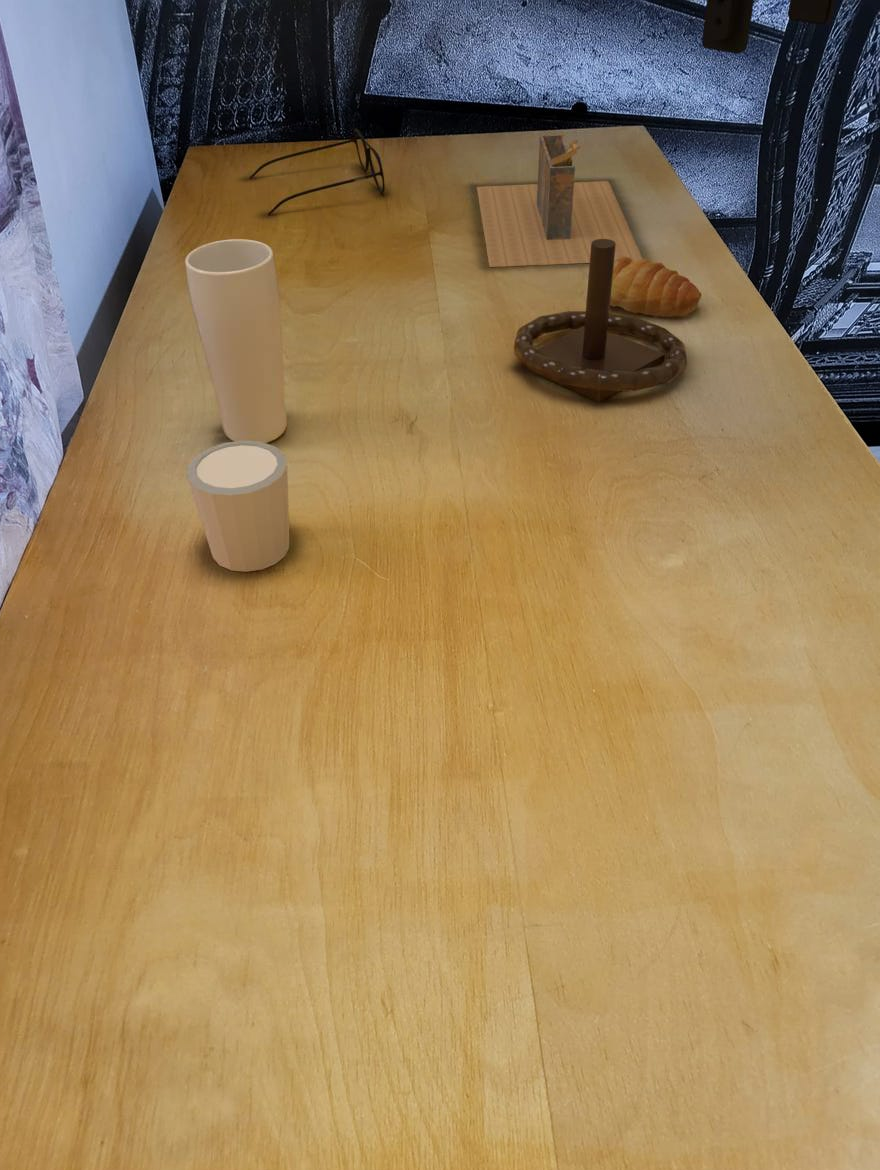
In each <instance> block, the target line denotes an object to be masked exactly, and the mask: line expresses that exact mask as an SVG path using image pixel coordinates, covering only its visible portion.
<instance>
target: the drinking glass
mask: <svg viewBox="0 0 880 1170" xmlns="http://www.w3.org/2000/svg"><path fill="white" fill-rule="evenodd" d="M184 266H185V272H186V281H187V286H188V287H187V289H188V293H189V299H190V303H191V310H192V313H193V318H194V323H195V325H196V329H197V333H198V336H199V337H198V338H199V340H200V343H201V347H202V350H203V355H204V358H205V361H206V365H207V369H208V373H209V376H210V379H211V383H212V387H213V390H214V395H215V398H216V402H217V405H218V410H219V414H220V419H221V425H222V430H223V433H224V435H225V437H227V439H229V440H230V441H231V442H235V441H243V440H244V441H257V442H263V443H266V444H269V443H270V442H273V441H274V440H276V439H278V438H279V437H281V436H282V434H284V433H285V431H286V429H287V423H288V420H287V419H288V418H287V411H286V403H285V382H284V359H283V358H284V356H283V329H282V328H283V327H282V308H281V307H282V306H281V295H280V294H281V293H280V286H279V279H278V273H277V267H276V261H275V256H274V251H273V249H272V248H271V247H270V246H269V245H268V244H266V243H264V242H261V241H259V240H258V241H257V240H254V239H246V238H245V239H243V238H231V239H223V240H217V241H212V242H209V243H206V244H203V245H199V246H198V247H196V248H194V249H193V250H192V251H190V252H189V253H188V254H186V257H185V259H184Z"/></svg>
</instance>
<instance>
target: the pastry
mask: <svg viewBox="0 0 880 1170" xmlns="http://www.w3.org/2000/svg"><path fill="white" fill-rule="evenodd" d="M701 297H702V293H701V291H699V288H697V286H696V285H695V284H694V283H692V282H691V281H690V279H689V278H688V277H686V276H684V275H680V274H679V272H678V271H677V270H673V269H669V268H667V267H666V266H665V265H664V264H663V263H662V262H660V261H659V262H651V261H650V260H649V259H647V258H642V259H640V260H638V261H633V260H632V259H630V258H629V257H622V256H621V257H620V258H618V259H616V260H615V261H614V267H613V278H612V288H611V298H610V306H611V307H612V308H616V307H620V308H622V309H623V310H624V311H627V312H630V313H634V314H637V313H640V314H643V315H644V316H646V317H647V316H653V317H658V318H659V317H660V318H666V317H667V318H669V317H670V318H671V317H674V316H679V317H681V316H682V317H684V316H686V315H688V314H690V313H692V312H694V310H695V309H697V307H698V305H699V302H700V300H701Z"/></svg>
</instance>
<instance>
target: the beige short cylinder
mask: <svg viewBox="0 0 880 1170" xmlns="http://www.w3.org/2000/svg"><path fill="white" fill-rule="evenodd" d="M186 474H187V481H188V485H189V487H190V490H191V494H192V498H193V499H194V503H195V506H196V509H197V512H198V515H199V518H200V519H199V520H200V522H201V525H202V529H203V532H204V534H205V537H206V541H207V543H208V544H207V545H208V546H209V550H210V552H211V557H212V558H213V560H214V561H215V562H216V563H217V564H218V566H220V567H223V568H225V569H227V570H230V571H232V572H233V571H234V572H244V573H248V572H249V573H250V572H255V571H261V570H264V569H266V568H269V567H271V566H274V565H276V564H278V563H279V562H280V561H281V560H282V559H283V558H284V557H286V555H287V553H288V551H289V549H290V519H289V515H290V514H289V480H288V479H289V478H288V477H289V476H288V463H287V458H286V454H285V453H283V452H282V451H281V450H280V449H279V447H277V446H274V445H271V444H269V443H263V442H257V441H244V440H243V441H235V442H234V441H229V442H223V443H220V444H218V445H214V446H212V447H209V448H206V449H205V450H203V451H202V452H200V453H199V454H197V455H196V456H195V457H193V459H192V460H191V462H190V463H189V464H188V466H187V467H186Z"/></svg>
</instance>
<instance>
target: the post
mask: <svg viewBox="0 0 880 1170" xmlns="http://www.w3.org/2000/svg"><path fill="white" fill-rule="evenodd" d="M615 247H616V243H615V242H614V241H613V240H610V239H597V240H594V241H593V242H592V243H591V253H590V263H589V267H588V278H587V279H588V280H587V291H586V303H585V304H586V305H585V311H586V315H585V325H584V326H582V327H580V328H578V329H573V330H572V331H570V332H568V333H565V334H564V335H562V336H560V337H558V338H556V339H553V340H552V341H550V342H548V343H545V344H544V345H542V346H540V347H538V348H536V349H537V350H538V351H539V352H540V353H541V354H543V355H545V356H548V357H550V358H552V359H555V360H557V361H559V362H562V363H564V364H567V365H572V366H577V367H582V368H588V369H593V370H598V371H637V370H642V369H646V368H651V367H655V366H660V365H661V364H662V363H664V362H665V361H666V353H665V352H662V351H659V350H657V349H654V348H652V347H649V346H646V345H644V344H641V343H640V342H639V343H638V342H636V341H634V340H631V339H629V338H626V337H623V336H620V335H618V334H615V333H614V332H611V331H607V329H608V319H609V313H610V308H611V307H610V306H611V305H610V298H611V288H612V278H613V267H614V257H615ZM521 368H522V370H525V371H528V372H530V373H533V374H535V375H537V376H539V377H542V378H544V379H546V380H548V381H550V382H553V383H555V384H557V385H559V386H562V387H564V388H566V389H569V390H571V391H574V392H576V393H577V394H580V395H582V396H584V397H587V398H589V399H592V400H593V401H596V402H599V403H600V402H601V401H603V400H605V399H607V398H608V397H611V396H612V395H614V394H617V392H619V391H612V390H593V389H588V388H582V387H577V386H572V385H567V384H562V383H559V382H556V381H554V380H552V379H549V378H547V377H545V376H543V375H540V374H538V373H536V372H534V371H531V370H530V369H529V368H528V367H527V366H526V365H525V364H524V363H523V362H522V361H521Z"/></svg>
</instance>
